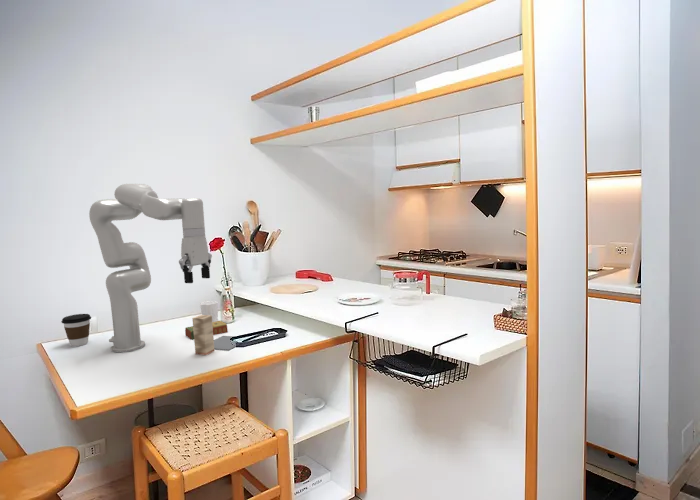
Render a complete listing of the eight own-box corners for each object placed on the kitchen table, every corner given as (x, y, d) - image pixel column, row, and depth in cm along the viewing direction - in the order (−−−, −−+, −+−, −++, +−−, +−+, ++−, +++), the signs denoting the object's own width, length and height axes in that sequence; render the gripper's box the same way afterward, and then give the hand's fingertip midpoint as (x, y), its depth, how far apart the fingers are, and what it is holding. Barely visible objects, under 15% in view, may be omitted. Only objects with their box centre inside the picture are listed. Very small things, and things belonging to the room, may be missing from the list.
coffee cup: (80, 348, 194) (77, 320, 192) (57, 348, 196) (54, 319, 195) (99, 340, 204) (96, 313, 203) (77, 340, 206) (74, 313, 205)
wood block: (195, 354, 180) (192, 318, 178) (203, 350, 184) (200, 314, 183) (206, 355, 178) (203, 318, 176) (214, 350, 182) (211, 315, 181)
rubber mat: (198, 348, 187) (198, 347, 187) (223, 336, 202) (223, 335, 202) (228, 350, 182) (228, 349, 182) (251, 338, 197) (251, 337, 197)
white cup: (201, 322, 228) (199, 302, 227) (218, 320, 231) (216, 300, 229) (202, 326, 220) (200, 305, 219) (219, 324, 223) (218, 303, 222)
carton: (227, 333, 208) (227, 323, 208) (191, 340, 199) (190, 330, 199) (221, 329, 215) (220, 320, 215) (185, 336, 206) (184, 326, 205)
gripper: (200, 231, 178) (203, 276, 180) (168, 235, 162) (172, 284, 164) (217, 231, 176) (220, 276, 177) (187, 235, 159) (191, 285, 161)
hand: (197, 280), depth 171 cm, fingers open, 9 cm apart
